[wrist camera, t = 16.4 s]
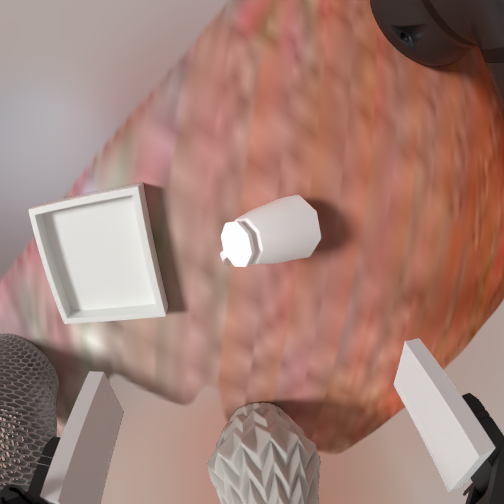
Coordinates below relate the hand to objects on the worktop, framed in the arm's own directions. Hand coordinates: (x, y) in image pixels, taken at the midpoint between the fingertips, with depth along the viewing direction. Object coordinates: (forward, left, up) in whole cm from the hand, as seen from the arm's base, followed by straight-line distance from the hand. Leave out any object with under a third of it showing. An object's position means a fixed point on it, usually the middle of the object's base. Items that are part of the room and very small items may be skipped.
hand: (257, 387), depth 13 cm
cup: (+1, -1, -18) cm, 18 cm away
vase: (+34, 0, -26) cm, 43 cm away
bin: (+2, -17, -25) cm, 30 cm away
